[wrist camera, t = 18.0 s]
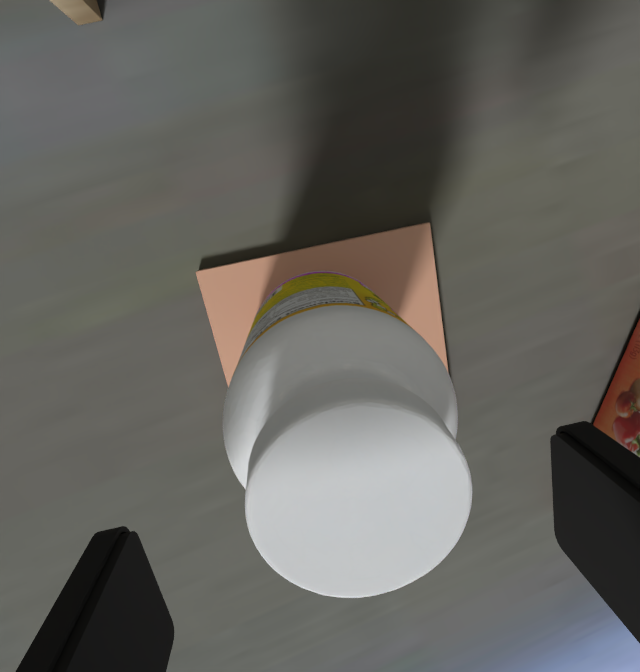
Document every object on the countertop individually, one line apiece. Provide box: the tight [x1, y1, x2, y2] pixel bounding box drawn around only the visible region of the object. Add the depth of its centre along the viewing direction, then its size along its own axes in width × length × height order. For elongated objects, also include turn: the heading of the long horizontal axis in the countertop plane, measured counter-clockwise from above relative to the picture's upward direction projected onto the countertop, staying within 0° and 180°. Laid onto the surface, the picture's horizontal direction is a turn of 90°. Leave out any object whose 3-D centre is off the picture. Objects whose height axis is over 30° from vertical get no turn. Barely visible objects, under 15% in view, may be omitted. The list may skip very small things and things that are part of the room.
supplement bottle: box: [223, 271, 472, 598], centre depth 15 cm, size 7×7×13 cm
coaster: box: [196, 223, 449, 387], centre depth 22 cm, size 11×11×1 cm
